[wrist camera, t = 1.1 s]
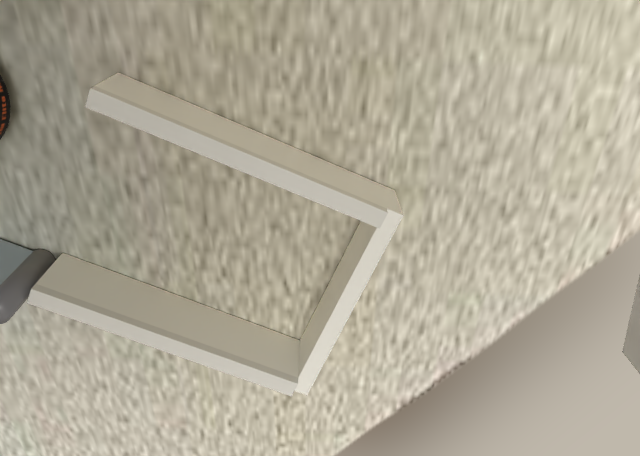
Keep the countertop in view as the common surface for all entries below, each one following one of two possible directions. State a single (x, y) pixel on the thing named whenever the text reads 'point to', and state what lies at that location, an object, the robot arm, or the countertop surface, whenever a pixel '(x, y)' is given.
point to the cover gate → (19, 275)
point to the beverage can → (4, 107)
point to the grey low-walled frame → (200, 320)
